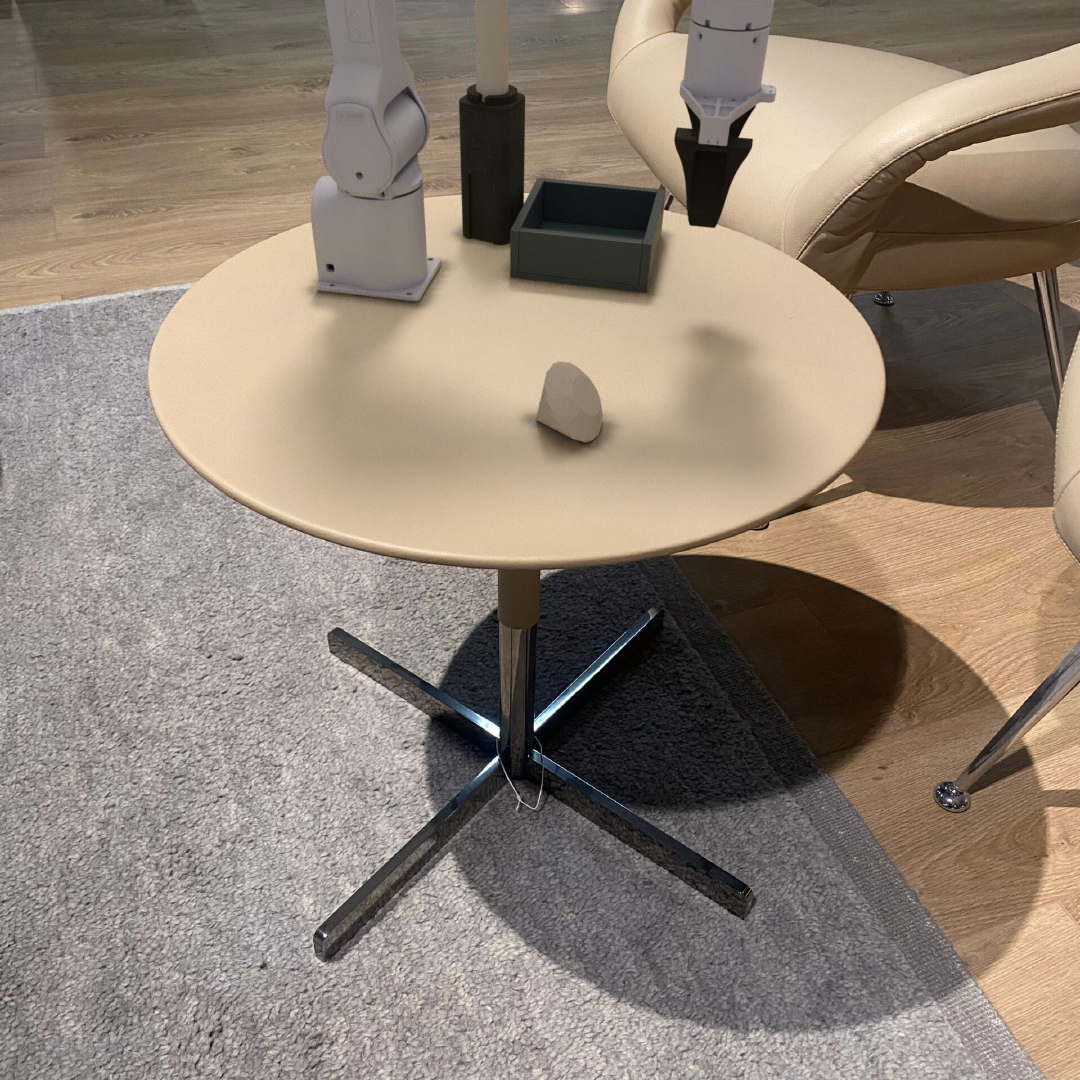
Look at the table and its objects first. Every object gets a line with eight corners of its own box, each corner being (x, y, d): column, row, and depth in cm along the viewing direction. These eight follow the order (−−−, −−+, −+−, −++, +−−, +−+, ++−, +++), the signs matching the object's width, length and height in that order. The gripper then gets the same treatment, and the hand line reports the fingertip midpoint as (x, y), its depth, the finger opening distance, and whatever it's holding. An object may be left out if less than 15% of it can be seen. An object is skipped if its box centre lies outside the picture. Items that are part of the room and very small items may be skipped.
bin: (509, 278, 93) (510, 230, 90) (536, 222, 103) (537, 177, 100) (647, 293, 92) (651, 244, 89) (661, 235, 101) (665, 189, 98)
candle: (527, 227, 102) (532, -59, 85) (505, 247, 98) (505, -48, 82) (481, 217, 103) (477, -66, 87) (458, 236, 100) (449, -55, 83)
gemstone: (521, 364, 76) (571, 338, 73) (571, 420, 79) (621, 397, 76) (496, 418, 72) (548, 393, 69) (550, 475, 75) (602, 453, 72)
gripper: (786, 53, 67) (753, 249, 76) (787, 0, 78) (758, 176, 87) (678, 45, 68) (658, 239, 77) (694, -7, 79) (675, 168, 87)
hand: (705, 205), depth 82 cm, fingers open, 7 cm apart
